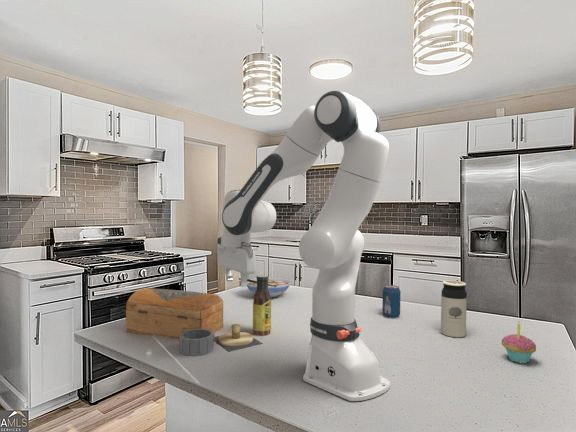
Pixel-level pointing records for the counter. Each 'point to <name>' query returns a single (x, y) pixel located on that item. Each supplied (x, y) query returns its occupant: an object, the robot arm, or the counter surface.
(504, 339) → the cupcake
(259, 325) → the sauce bottle
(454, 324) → the travel mug
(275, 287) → the ramen bowl
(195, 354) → the bowl
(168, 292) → the wooden box
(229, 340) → the lid
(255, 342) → the mat
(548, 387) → the counter surface
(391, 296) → the soda can
